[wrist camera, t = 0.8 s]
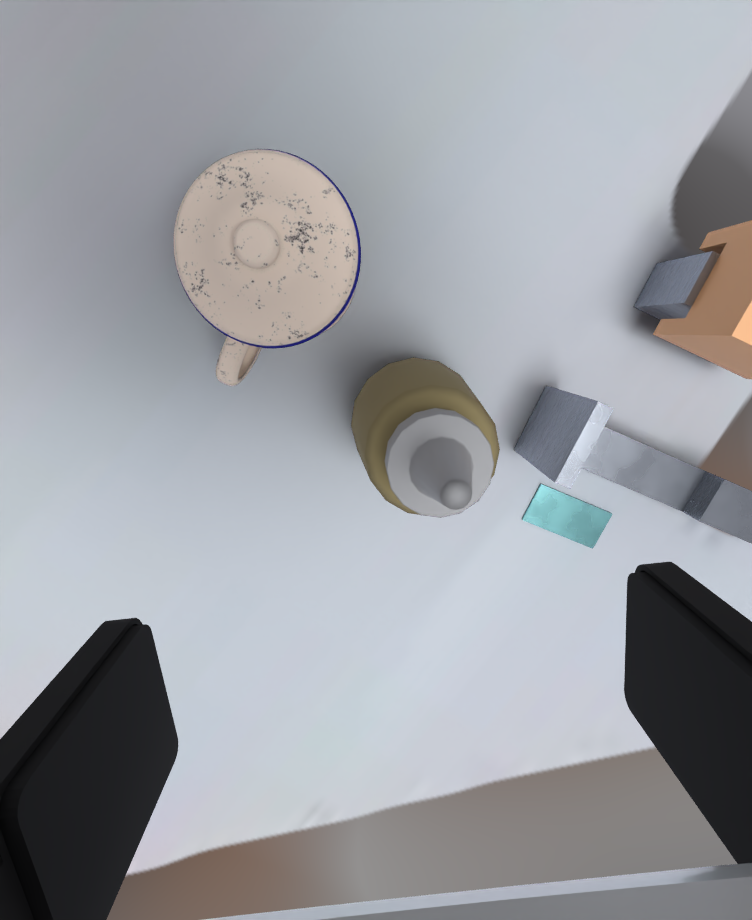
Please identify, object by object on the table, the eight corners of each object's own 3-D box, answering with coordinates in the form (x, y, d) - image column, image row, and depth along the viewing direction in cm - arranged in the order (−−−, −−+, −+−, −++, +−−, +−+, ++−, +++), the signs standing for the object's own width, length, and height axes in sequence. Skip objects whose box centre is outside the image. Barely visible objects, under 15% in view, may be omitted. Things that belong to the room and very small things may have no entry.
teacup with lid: (254, 168, 31) (193, 76, 20) (384, 239, 32) (397, 190, 21) (183, 345, 34) (94, 353, 23) (307, 404, 35) (281, 440, 24)
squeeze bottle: (332, 385, 35) (303, 441, 17) (439, 334, 34) (521, 339, 17) (381, 486, 37) (399, 628, 19) (483, 440, 36) (598, 543, 19)
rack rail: (546, 385, 35) (598, 401, 27) (781, 490, 38) (890, 532, 30) (486, 504, 37) (518, 550, 29) (712, 596, 40) (797, 661, 32)
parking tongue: (656, 263, 33) (712, 250, 28) (756, 313, 34) (829, 310, 29) (633, 307, 34) (684, 302, 29) (732, 354, 35) (799, 359, 30)
